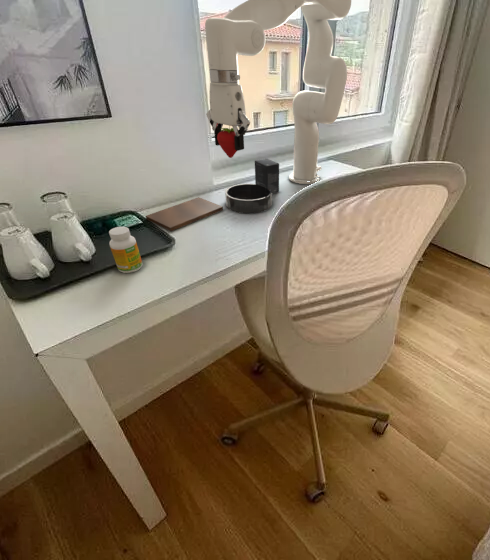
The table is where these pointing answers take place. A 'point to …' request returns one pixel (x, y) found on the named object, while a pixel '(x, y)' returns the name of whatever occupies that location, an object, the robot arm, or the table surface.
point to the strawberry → (227, 141)
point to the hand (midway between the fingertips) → (229, 146)
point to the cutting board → (184, 213)
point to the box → (267, 174)
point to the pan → (248, 198)
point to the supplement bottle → (124, 250)
